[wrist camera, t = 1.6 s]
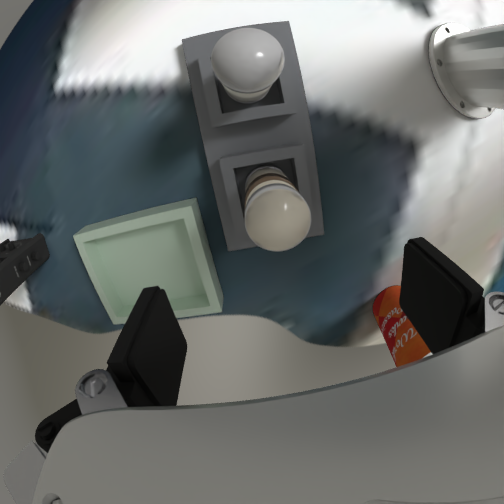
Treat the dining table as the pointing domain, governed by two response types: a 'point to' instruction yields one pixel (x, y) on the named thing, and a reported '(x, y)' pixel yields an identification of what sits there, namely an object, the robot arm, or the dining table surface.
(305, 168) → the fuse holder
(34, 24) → the dining table surface
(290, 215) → the fuse
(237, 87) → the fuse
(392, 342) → the paper cup
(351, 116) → the dining table surface
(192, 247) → the parts tray
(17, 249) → the geiger counter
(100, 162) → the dining table surface
